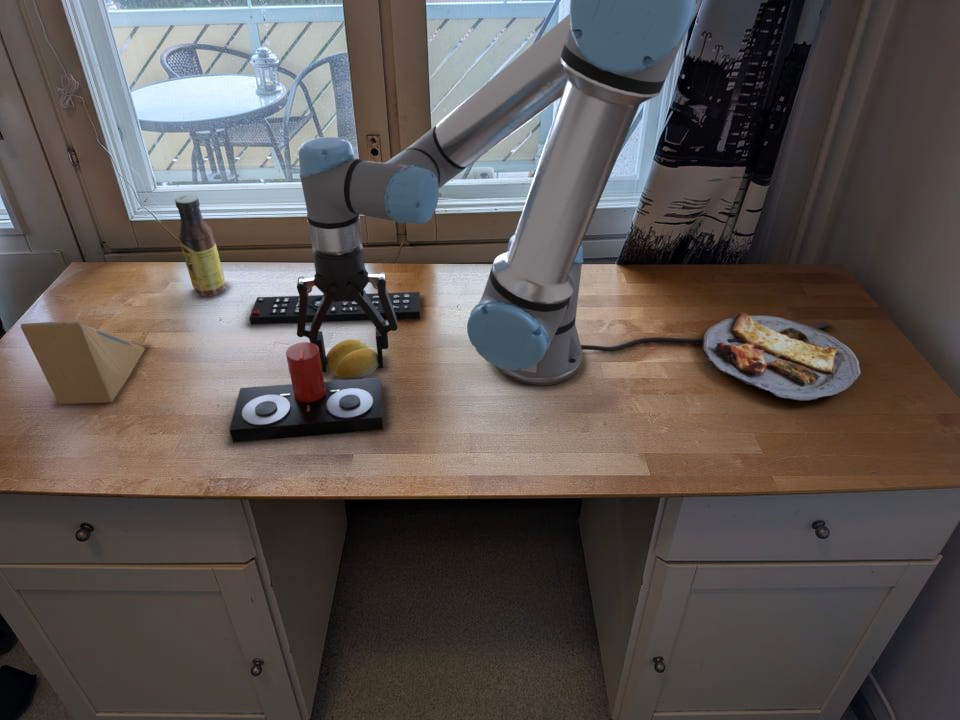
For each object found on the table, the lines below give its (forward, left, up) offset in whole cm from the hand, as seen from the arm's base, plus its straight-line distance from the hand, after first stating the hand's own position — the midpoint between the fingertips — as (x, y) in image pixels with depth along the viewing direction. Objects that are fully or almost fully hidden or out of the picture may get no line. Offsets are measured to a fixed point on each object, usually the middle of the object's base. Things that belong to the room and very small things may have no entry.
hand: (352, 365), depth 111 cm
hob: (+6, +12, 0) cm, 13 cm away
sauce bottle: (+29, -30, 0) cm, 42 cm away
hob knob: (+6, +10, +2) cm, 12 cm away
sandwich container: (+41, -3, 0) cm, 41 cm away
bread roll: (0, 0, 0) cm, 0 cm away
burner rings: (+6, +13, +2) cm, 15 cm away
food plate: (-73, +8, 0) cm, 73 cm away
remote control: (+3, -19, 0) cm, 19 cm away
